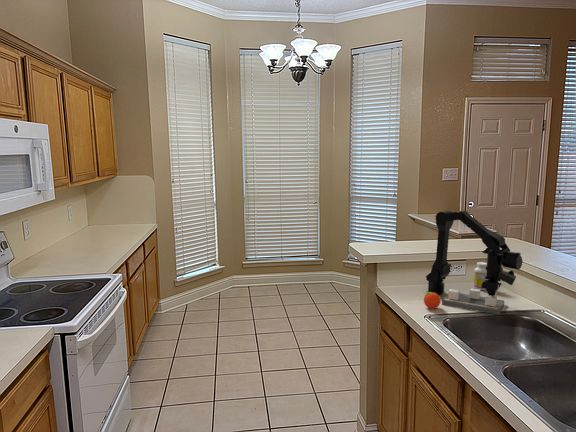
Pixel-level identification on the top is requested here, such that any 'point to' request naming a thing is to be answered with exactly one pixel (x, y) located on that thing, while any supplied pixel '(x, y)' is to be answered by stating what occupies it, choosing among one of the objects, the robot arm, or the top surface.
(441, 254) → the robot arm
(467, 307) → the switch bank
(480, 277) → the supplement bottle
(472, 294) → the tab middle
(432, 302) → the red tomato
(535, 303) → the top surface
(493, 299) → the tab right
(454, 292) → the tab left
